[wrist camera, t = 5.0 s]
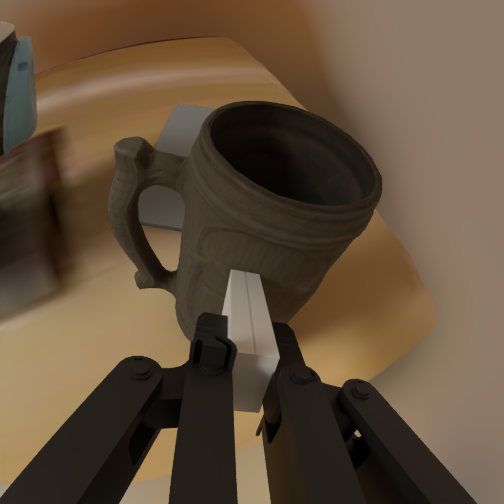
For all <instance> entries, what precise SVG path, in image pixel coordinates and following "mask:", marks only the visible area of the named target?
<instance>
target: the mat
mask: <svg viewBox="0 0 504 504" xmlns="http://www.w3.org/2000/svg"><path fill="white" fill-rule="evenodd" d="M214 110H216V109H212V108H205V107H198V106H191V105H183V104H177V105H176V106H175V108H174V110H173V112H172V114H171V116H170V118H169V120H168V122H167V124H166V126H165V128H164V130H163V132H162V134H161V136H160V138H159V140H158V142H157V144H156V146H155V148H154V149H156V150H159V151H161V152H167V153H172V154H175V155H178V156H183V157H188V156H189V155H190V152H191V148H192V145H193V144H194V142H195V140H196V139H197V137H198V135H199V132H200V129H201V126H202V124H203V122H204V120H205V119H206V117H207V116H208V115H210V114H211V113H212V112H213V111H214ZM138 210H139V220H140V223H141V224H142V225H148V226H154V227H160V228H166V229H172V230H177V231H182V228H183V222H184V216H185V204H184V200H183V198H182V197H181V195H180V194H179V193H178V192H177V191H175V190H173V189H170V188H167V187H164V186H159V185H154V186H150V187H148V188H147V189H145V190H143V191H142V192H141V194H140V196H139V201H138Z"/></svg>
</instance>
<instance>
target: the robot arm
mask: <svg viewBox="0 0 504 504" xmlns="http://www.w3.org/2000/svg"><path fill="white" fill-rule="evenodd" d="M36 125H37V104H36V90H35V75H34V60H33V48H32V40H31V37H29V36H26V37H23V36H22V37H20V38H19V39H18V40H17V39H16V34H15V28H14V25H12V24H9V23H6V22H3V21H0V156H2V155H3V154H4V155H7V154H8V153H9V151H10V150H12V149H13V148H15V147H16V146H18V145H19V144H21V143H23V142H24V141H26V140H27V139H29V138H30V137H31V135H32V134H33V133H34V131H35V128H36ZM262 404H263V409H264V415H263V417H262V419H261V422H260V424H259V427H258V429H257V431H256V436H259V435H260V432H261V430H262V437H263V445H264V453H265V460H266V468H267V476H268V483H269V491H270V499H271V504H477V503H476V502H475V501H474V499H473V498H472V497H471V496H470V495H469V494H468V493H467V492H466V490H465V489H464V488H463V487H462V486H461V485H460V484H459V483H458V481H457V480H456V479H455V478H454V477H453V476H452V474H450V473H449V471H448V470H447V469H446V468H445V467H444V465H443V464H442V463H441V462H440V461H439V460H438V459H437V458H436V456H435V455H434V454H433V453H432V452H431V451H430V450H429V448H428V447H427V446H426V445H425V444H424V443H423V442H422V441H421V440H420V438H418V436H417V435H416V434H415V433H414V431H412V429H411V428H410V427H409V426H408V425H407V424H406V422H405V421H404V420H403V419H402V418H401V417H400V416H399V415H398V413H397V412H396V411H395V410H394V409H393V408H392V407H391V406H390V404H389V403H388V402H387V401H386V400H385V399H384V398H383V396H382V395H381V394H380V393H379V392H378V391H377V390H376V389H375V388H374V387H373V386H372V385H371V384H370V383H368V382H366V381H364V380H360V379H350V380H348V381H346V382H345V383H344V384H343V386H342V388H341V387H336V386H332V385H328V384H325V383H322V382H321V380H320V377H319V376H318V374H317V373H316V372H315V371H314V370H312V369H311V368H309V367H307V366H306V365H305V362H304V359H303V356H302V354H301V351H300V348H299V346H298V342H297V340H296V337H295V334H294V331H293V330H292V329H291V328H290V327H289V326H288V325H287V324H286V323H278V322H271V320H270V316H269V312H268V308H267V303H266V299H265V295H264V291H263V287H262V283H261V279H260V275H259V274H255V273H249V272H244V271H238V270H232V269H231V272H230V277H229V282H228V287H227V292H226V296H225V301H224V306H223V311H222V315H220V314H214V313H208V312H203V313H202V314H201V315H200V316H199V317H198V318H197V324H196V329H195V334H194V338H193V340H192V342H191V346H190V354H189V360H188V361H187V362H186V363H185V364H183V365H182V366H179V367H175V368H161V366H160V365H159V364H158V363H157V362H156V361H154V360H152V359H151V358H148V357H144V356H131V357H127V358H125V359H124V360H122V361H121V362H120V363H119V364H118V365H117V366H116V367H115V368H114V369H113V370H112V371H111V372H110V373H109V374H108V375H107V377H106V378H105V379H104V380H103V381H102V382H101V383H100V384H99V385H98V386H97V387H96V389H95V390H94V391H93V392H92V393H91V394H90V395H89V396H88V397H87V398H86V400H85V401H84V402H83V403H82V404H81V405H80V406H79V407H78V408H77V409H76V411H75V412H74V413H73V414H72V415H71V416H70V417H69V418H68V420H67V421H66V422H65V423H64V424H63V425H62V426H61V427H60V429H59V430H58V431H57V432H56V433H55V434H54V435H53V436H52V438H51V439H50V440H49V441H48V442H47V443H46V444H45V446H44V447H43V448H42V449H41V450H40V451H39V452H38V454H37V455H36V456H35V457H34V458H33V459H32V461H31V462H30V463H29V464H28V465H27V466H26V468H25V469H24V470H23V471H22V472H21V473H20V475H19V476H18V477H17V478H16V479H15V481H14V482H13V483H12V484H11V485H10V487H9V488H8V489H7V490H6V492H5V493H4V494H3V495H2V497H1V498H0V504H119V503H120V501H121V499H122V498H123V496H124V494H125V492H126V490H127V489H128V487H129V485H130V484H131V482H132V480H133V478H134V477H135V475H136V473H137V471H138V470H139V468H140V466H141V464H142V462H143V461H144V459H145V457H146V455H147V454H148V452H149V450H150V448H151V447H152V445H153V443H154V441H155V439H156V438H157V436H158V434H159V432H160V431H161V429H165V428H178V431H177V438H176V445H175V452H174V460H173V468H172V476H171V486H170V494H169V504H238V500H237V483H236V461H235V438H234V410H235V411H244V412H257V413H259V411H260V409H261V406H262ZM356 430H358V431H359V433H360V434H361V437H357V436H356V435H355V434H354V432H355V431H356Z"/></svg>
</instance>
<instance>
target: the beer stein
mask: <svg viewBox="0 0 504 504" xmlns="http://www.w3.org/2000/svg"><path fill="white" fill-rule="evenodd" d="M114 152H115V160H116V164H115V174H114V178H113V181H112V185H111V188H110V192H109V196H108V208H107V209H108V217H109V222H110V225H111V228H112V230H113V233H114V235H115V238H116V239H117V241H118V243H119V244H120V246H121V247H122V249H123V250H124V251H125V253H126V254H127V256H128V257H129V258H130V259H131V261H132V262H133V263H134V264H135V265H136V267H137V268H138V271H137V272H136V273H135V281H136V284H137V287H138V288H139V289H145V288H161V289H164V290H167V291H168V292H170V293H171V294H173V295H174V297H175V298H176V306H175V308H176V315H177V320H178V323H179V325H180V327H181V329H182V331H183V333H184V335H185V336H186V337H187V339H188V340H189V341H190V342H192V340H193V338H194V334H195V329H196V324H197V318H198V317H199V316H200V315H201V314H202V313H203V312H208V313H214V314H220V315H222V311H223V306H224V301H225V296H226V292H227V287H228V282H229V277H230V272H231V269H232V270H238V271H244V272H249V273H255V274H259V275H260V279H261V283H262V287H263V291H264V295H265V299H266V303H267V308H268V312H269V316H270V320H271V322H278V323H286V324H287V322H288V321H289V320H290V319H291V318H292V317H293V316H294V315H295V314H296V313H297V312H298V310H299V309H300V308H301V307H302V306H303V305H304V304H305V303H306V302H307V301H308V300H309V298H310V297H311V296H312V295H313V294H314V292H315V291H316V290H317V288H318V287H319V285H320V283H321V282H322V280H323V278H324V276H325V274H326V272H327V271H328V270H329V268H330V267H331V266H332V265H333V264H334V262H335V261H336V260H337V259H338V258H339V257H340V256H341V254H342V253H343V252H344V251H345V250H346V248H347V247H348V246H349V245H350V243H351V242H352V241H353V239H355V238H356V237H358V236H359V235H360V234H361V233H362V232H363V231H364V230H365V228H366V227H367V225H368V223H369V221H370V219H371V217H372V215H373V212H374V209H375V208H376V206H377V204H378V202H379V200H380V197H381V194H382V177H381V175H380V173H379V171H378V169H377V168H376V165H375V164H374V162H373V160H372V158H371V157H370V155H369V154H368V153H367V152H366V150H365V149H364V148H363V147H362V146H361V145H360V144H359V143H358V142H356V141H355V140H354V139H353V138H352V137H351V136H350V135H349V134H347V133H346V132H344V131H343V130H341V129H340V128H338V127H337V126H335V125H334V124H332V123H330V122H329V121H327V120H325V119H324V118H322V117H320V116H317V115H315V114H313V113H310V112H308V111H305V110H303V109H300V108H298V107H295V106H290V105H285V104H279V103H273V102H266V101H241V102H233V103H230V104H227V105H224V106H222V107H220V108H218V109H216V110H214V111H213V112H212V113H211V114H210V115H208V116H207V117H206V119H205V120H204V122H203V124H202V126H201V129H200V132H199V135H198V137H197V139H196V140H195V142H194V144H193V145H192V148H191V152H190V155H189V156H188V157H183V156H178V155H175V154H172V153H167V152H161V151H159V150H156V149H154V148H153V147H152V146H151V145H150V144H149V143H148V142H147V141H146V140H145V139H143V138H141V137H130V138H124V139H122V140H120V141H118V142H117V143H115V145H114ZM154 185H159V186H164V187H167V188H170V189H173V190H175V191H177V192H178V193H179V194H180V195H181V197H182V198H183V200H184V204H185V216H184V222H183V228H182V237H181V248H180V257H179V264H178V268H177V270H176V271H173V272H171V271H168V270H166V269H165V268H164V267H163V266H162V264H161V263H160V261H159V260H158V258H157V257H156V255H155V253H154V252H153V250H152V248H151V247H150V245H149V243H148V241H147V239H146V236H145V234H144V231H143V228H142V226H141V223H140V220H139V210H138V201H139V196H140V194H141V192H142V191H143V190H145V189H147V188H148V187H150V186H154Z"/></svg>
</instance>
